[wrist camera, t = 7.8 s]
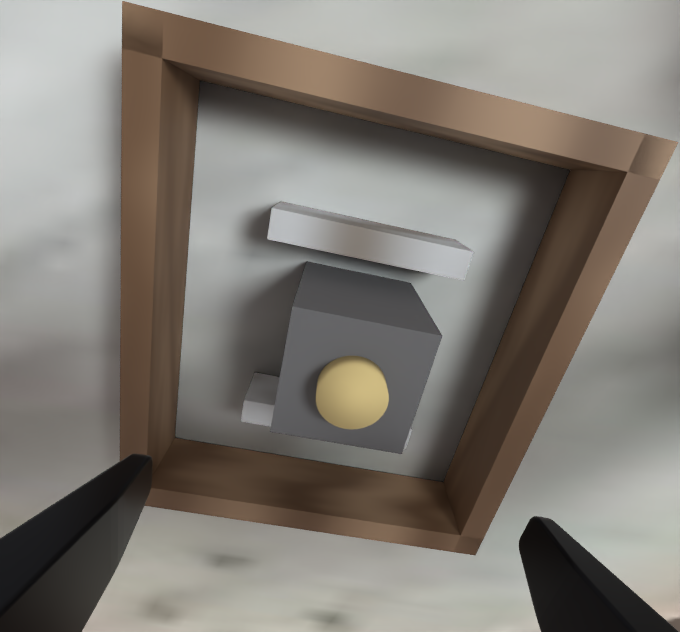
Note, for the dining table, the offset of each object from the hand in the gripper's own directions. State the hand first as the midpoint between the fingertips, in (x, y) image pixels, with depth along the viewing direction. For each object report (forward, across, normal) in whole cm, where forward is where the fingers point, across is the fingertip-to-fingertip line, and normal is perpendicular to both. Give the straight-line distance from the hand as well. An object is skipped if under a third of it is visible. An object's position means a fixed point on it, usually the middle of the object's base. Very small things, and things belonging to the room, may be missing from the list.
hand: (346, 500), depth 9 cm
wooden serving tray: (+11, 0, 0) cm, 11 cm away
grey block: (+11, 0, 0) cm, 11 cm away
